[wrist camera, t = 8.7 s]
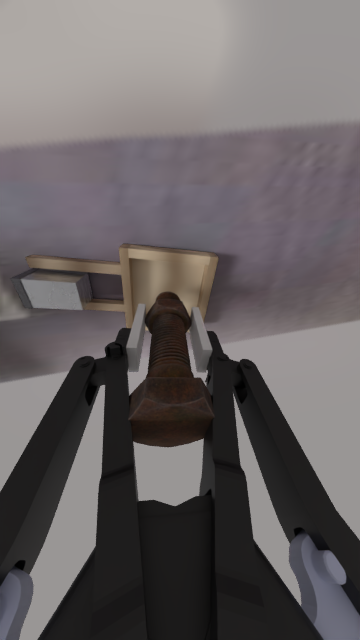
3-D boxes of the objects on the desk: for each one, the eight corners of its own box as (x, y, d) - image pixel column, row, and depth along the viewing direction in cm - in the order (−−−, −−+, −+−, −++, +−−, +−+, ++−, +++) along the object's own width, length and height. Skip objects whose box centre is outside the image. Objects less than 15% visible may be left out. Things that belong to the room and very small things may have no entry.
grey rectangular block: (43, 294, 23) (24, 307, 19) (33, 267, 20) (10, 278, 17) (93, 297, 23) (82, 310, 20) (87, 272, 21) (74, 283, 18)
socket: (55, 316, 25) (46, 326, 23) (23, 233, 19) (6, 236, 16) (198, 323, 28) (201, 332, 26) (213, 252, 21) (218, 257, 19)
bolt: (164, 271, 19) (160, 389, 7) (196, 293, 21) (241, 417, 9) (139, 307, 21) (104, 442, 9) (171, 324, 23) (177, 454, 11)
